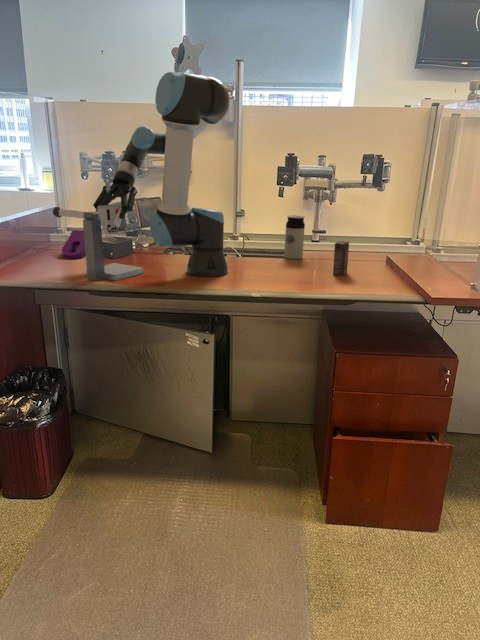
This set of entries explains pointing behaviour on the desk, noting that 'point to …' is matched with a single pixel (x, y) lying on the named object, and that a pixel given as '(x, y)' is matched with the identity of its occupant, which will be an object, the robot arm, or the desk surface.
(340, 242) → the box
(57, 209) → the lever
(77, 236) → the mounting bracket
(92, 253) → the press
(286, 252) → the travel mug
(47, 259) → the desk surface
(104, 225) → the cup
